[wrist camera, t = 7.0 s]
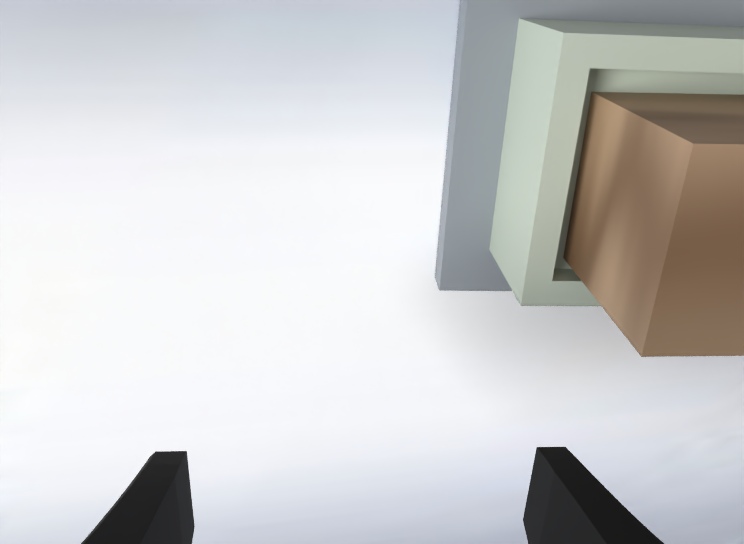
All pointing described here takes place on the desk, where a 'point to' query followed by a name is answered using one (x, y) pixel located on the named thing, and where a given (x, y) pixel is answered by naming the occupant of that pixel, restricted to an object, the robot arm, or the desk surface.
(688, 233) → the walnut block
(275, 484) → the desk surface
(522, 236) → the socket base
